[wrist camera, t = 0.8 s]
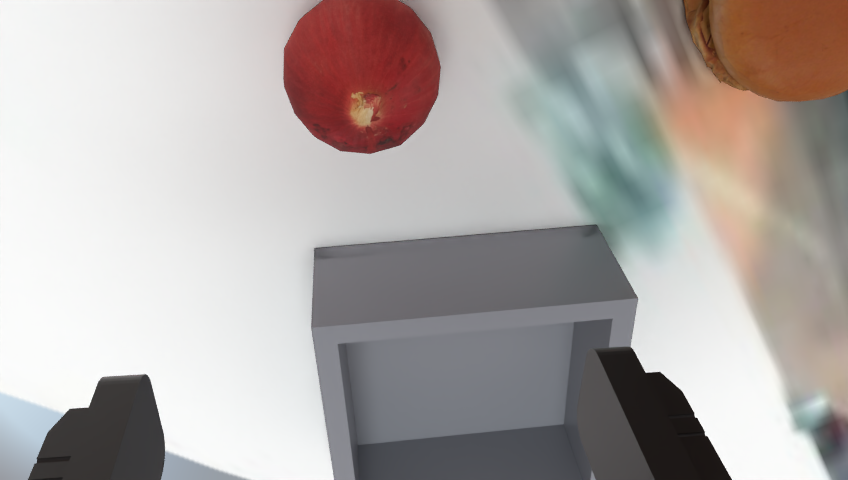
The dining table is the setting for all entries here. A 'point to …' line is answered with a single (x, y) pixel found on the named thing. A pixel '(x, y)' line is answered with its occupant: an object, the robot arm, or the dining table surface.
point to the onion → (361, 73)
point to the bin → (464, 352)
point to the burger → (774, 45)
